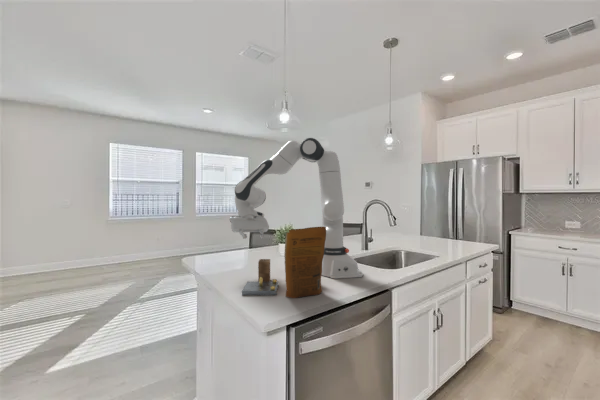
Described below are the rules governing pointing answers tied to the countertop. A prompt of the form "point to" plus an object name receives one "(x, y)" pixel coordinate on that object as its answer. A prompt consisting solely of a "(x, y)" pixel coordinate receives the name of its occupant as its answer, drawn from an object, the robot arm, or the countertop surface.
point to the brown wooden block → (264, 270)
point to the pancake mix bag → (304, 261)
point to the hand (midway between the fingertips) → (253, 237)
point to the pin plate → (260, 288)
